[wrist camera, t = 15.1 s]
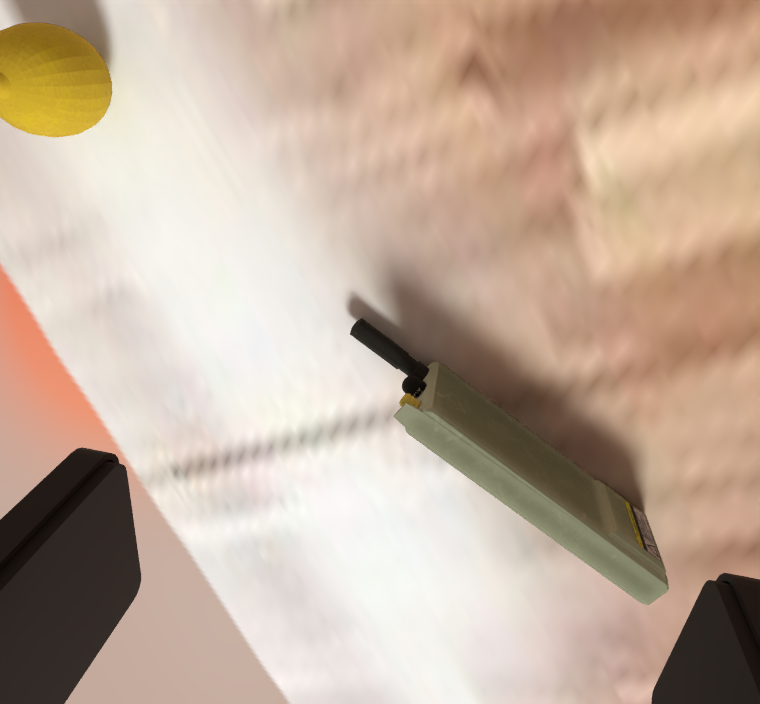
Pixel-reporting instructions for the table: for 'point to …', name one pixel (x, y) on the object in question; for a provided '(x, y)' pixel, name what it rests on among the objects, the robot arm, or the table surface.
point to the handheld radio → (524, 471)
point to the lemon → (51, 80)
